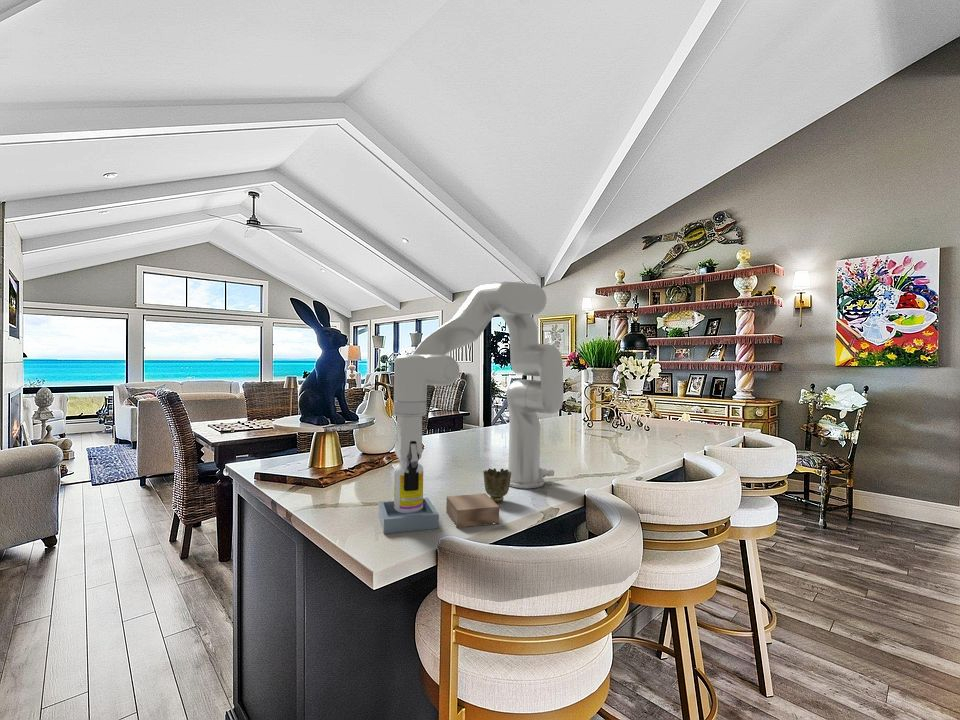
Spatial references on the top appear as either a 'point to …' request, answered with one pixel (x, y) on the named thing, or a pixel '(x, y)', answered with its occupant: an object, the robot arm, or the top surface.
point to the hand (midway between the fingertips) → (408, 484)
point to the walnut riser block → (472, 510)
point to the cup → (497, 483)
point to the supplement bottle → (407, 499)
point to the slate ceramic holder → (407, 518)
